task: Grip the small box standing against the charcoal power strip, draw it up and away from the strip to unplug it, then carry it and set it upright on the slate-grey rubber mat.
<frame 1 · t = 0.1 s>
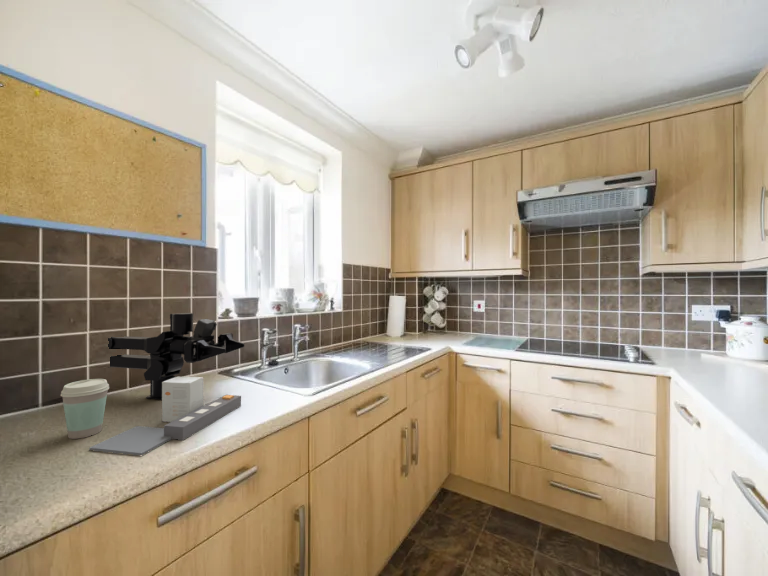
hand: (235, 347, 98), 17 cm above the counter, tool horizontal, fingers open, 9 cm apart
coffee cup: (85, 434, 76), on the counter
power strip: (207, 420, 84), on the counter
small box: (183, 419, 85), on the counter
rubber mat: (139, 440, 72), on the counter
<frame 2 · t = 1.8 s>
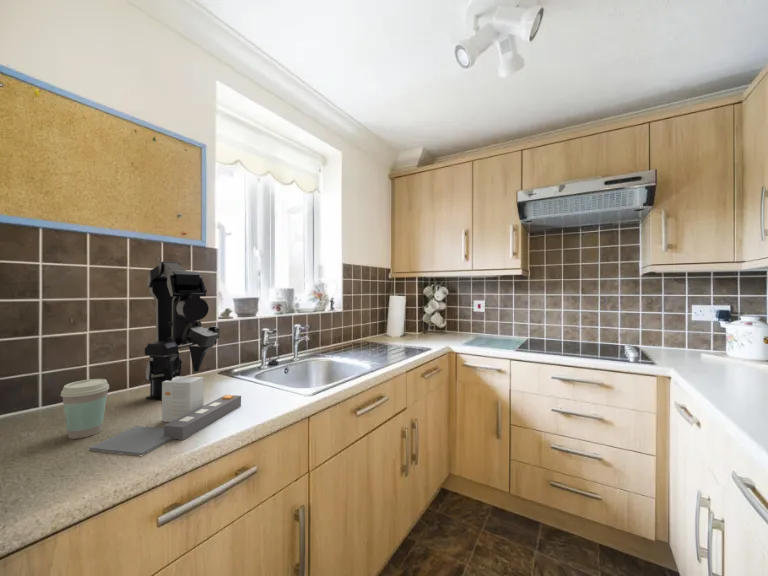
hand: (183, 375, 85), 11 cm above the counter, tool pointing down, fingers open, 9 cm apart
nothing on the counter moved.
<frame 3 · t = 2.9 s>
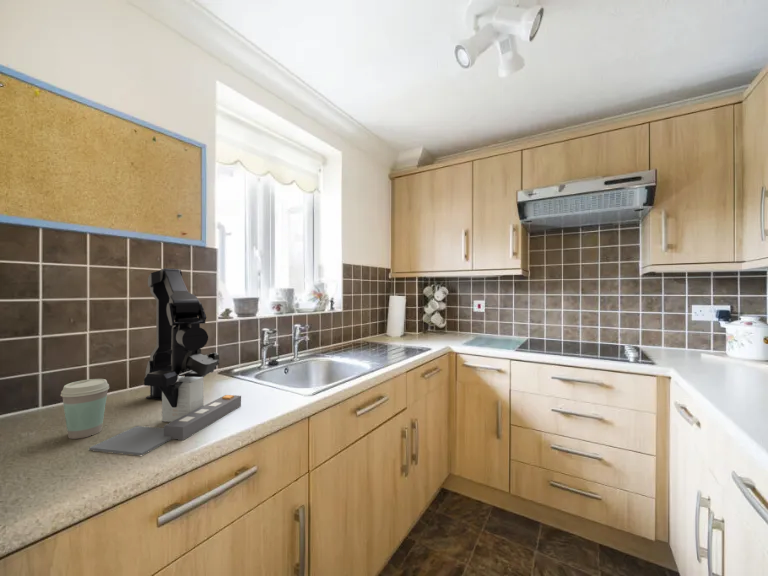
hand: (183, 403, 85), 4 cm above the counter, tool pointing down, fingers closed on small box, 6 cm apart
small box: (183, 418, 85), on the counter, touching gripper
everything else where it was.
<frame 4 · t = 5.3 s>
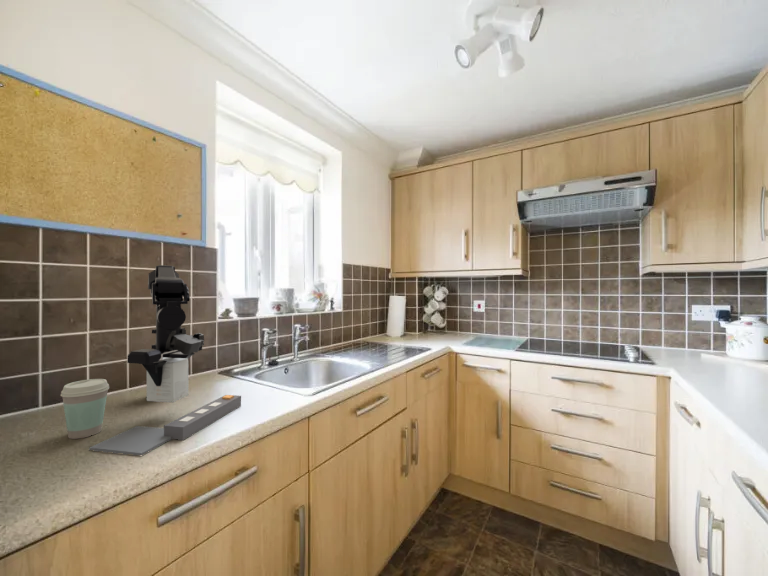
hand: (168, 382, 86), 9 cm above the counter, tool pointing down, fingers closed on small box, 6 cm apart
small box: (167, 399, 86), point 5 cm above the counter, touching gripper
everything else where it was.
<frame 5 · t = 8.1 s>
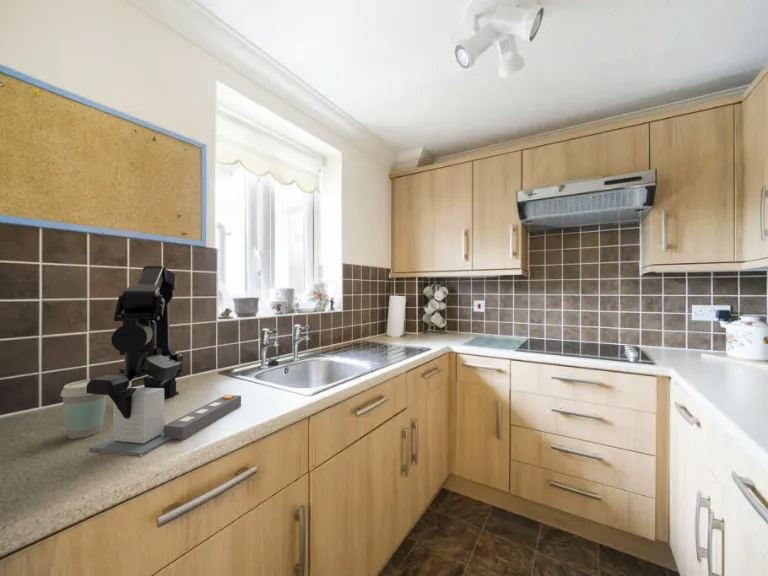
hand: (139, 412, 72), 6 cm above the counter, tool pointing down, fingers closed on small box, 6 cm apart
small box: (139, 437, 72), point 1 cm above the counter, touching gripper
everything else where it was.
when the fingers open (6 cm above the counter, at t = 9.0 s): small box stays where it is, resting on rubber mat.
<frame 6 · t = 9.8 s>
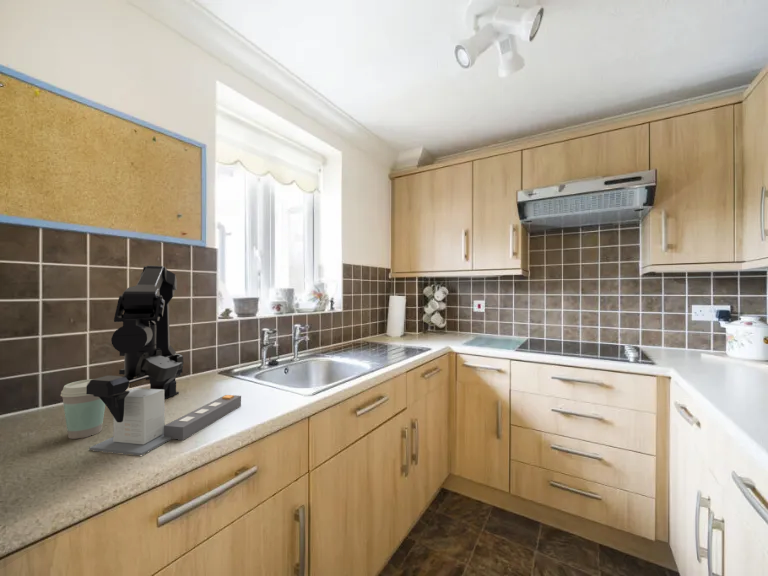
hand: (139, 413, 72), 6 cm above the counter, tool pointing down, fingers open, 9 cm apart
small box: (139, 438, 72), resting on rubber mat
everything else where it was.
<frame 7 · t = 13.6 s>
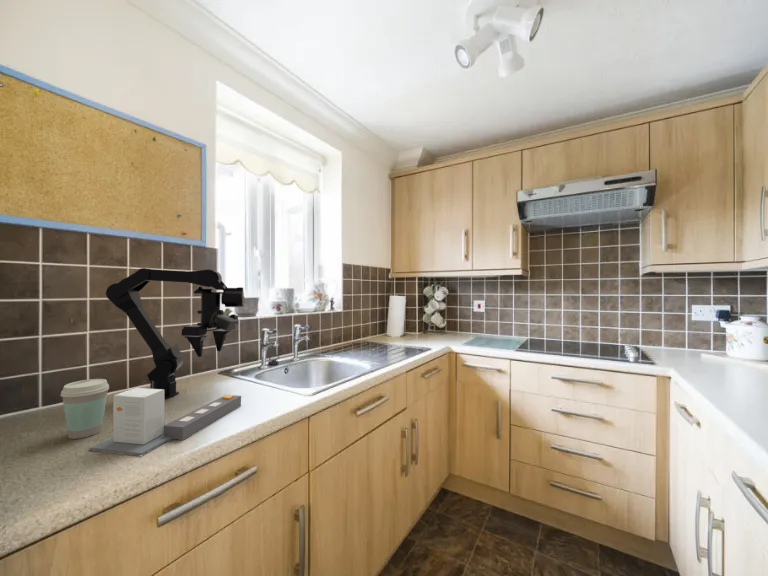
hand: (209, 353, 106), 13 cm above the counter, tool pointing down, fingers open, 9 cm apart
nothing on the counter moved.
at the end: small box inside the target area on the rubber mat (0.1 cm from its centre), point 0.4 cm above the rubber mat's base; small box tilted 0°; the gripper is holding nothing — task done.
